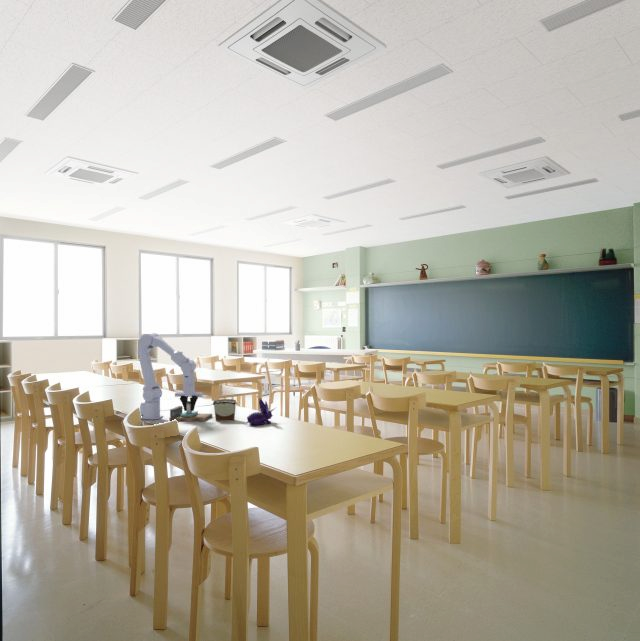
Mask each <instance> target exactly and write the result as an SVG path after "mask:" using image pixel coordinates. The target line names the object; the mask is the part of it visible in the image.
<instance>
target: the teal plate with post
mask: <svg viewBox="0 0 640 641" xmlns="http://www.w3.org/2000/svg"><path fill="white" fill-rule="evenodd" d="M186 408H187V411H184V412H182V414H180V417H192V416H194V415H196V414H199V411H198V410H194V411H191V402H190V400H188V401H186Z"/></svg>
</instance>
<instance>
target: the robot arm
mask: <svg viewBox="0 0 640 641" xmlns="http://www.w3.org/2000/svg"><path fill="white" fill-rule="evenodd" d="M138 342H139V343H138V348H137V354H138V360H139V363H140V368H141V369H140V370H141V373H142V376H143V381H144V386H143V387H142V390H143V391H142V398H143V401H141V402H140V405H139V414H140V413H141V416H142V419H141V420H155V421H156V420H159V419H161V418H163V417H164V415H161V397H162V395H163V391H162V388H160V386H159V383H158V382H157V381H156V377H155V371H154V368H153V367H154V366H153V364H152V360H151V355H150V352H151V350H152V349H153V348H154V347H155V348H157V347H158V348H160V349H161V350H162V351H164V352H165V353H166V354H167V355H169V357H170V359H171V361H172V362H173V363H175V364H176V365H178V366H177V367H180V370H181V371H182V392H181V391H180V392H175V393H174V397H175V398H178V397H179V401H180V402H181V404H182V408H183V410H184V412H186V411H187V408H186V401H190V402H191V411H195V406H196V403H197V401H198V399H199V398H202V397H204V392H199V391H198V392H195V391H196V389H195V383H196V381H195V371H196V369H197V363H196V362H195V361H194V360H191V359H190V358H189V357H187V356H185V355H184V353H183V351H179V350H175V349H174V348H173V347H172V346H171V345H169V344H168V342H166V341H165V340H164V339H163V337H162V336H159V335H158V333H155V332H154V333H144V334H142V335H141V336H140V337H139V339H138ZM188 399H189V400H188Z"/></svg>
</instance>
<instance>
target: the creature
mask: <svg viewBox="0 0 640 641" xmlns="http://www.w3.org/2000/svg"><path fill="white" fill-rule="evenodd" d="M258 405H259V410H258V411H255V412H252V413H250V414H249V415H247V417H246V420H247V421H245V424H250V425H254V426H260V425H261V426H262V425H264V424H265V423H266V424H269V425H270V424H271V423H272V422H273V421H270V420H271V419H272V417H273V414H272V412H273V411H274V410H275V409H276V407H274V408H273V409H271V410H270V409H269V405H268V402H267V401H266V400H265V402H264V400H262V398H260V397H258Z"/></svg>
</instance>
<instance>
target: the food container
mask: <svg viewBox="0 0 640 641" xmlns="http://www.w3.org/2000/svg"><path fill="white" fill-rule="evenodd" d="M212 405H213V408H214V417H215V418H214V419H215V421H216V422H217V421H218V422H221V421H222V422H235V418H236V416H235V415H236V406H238V403H237V400H236V399H234V398H232V399H230V398H223V399H221V398H220V399H215V400H213V402H212Z"/></svg>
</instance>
